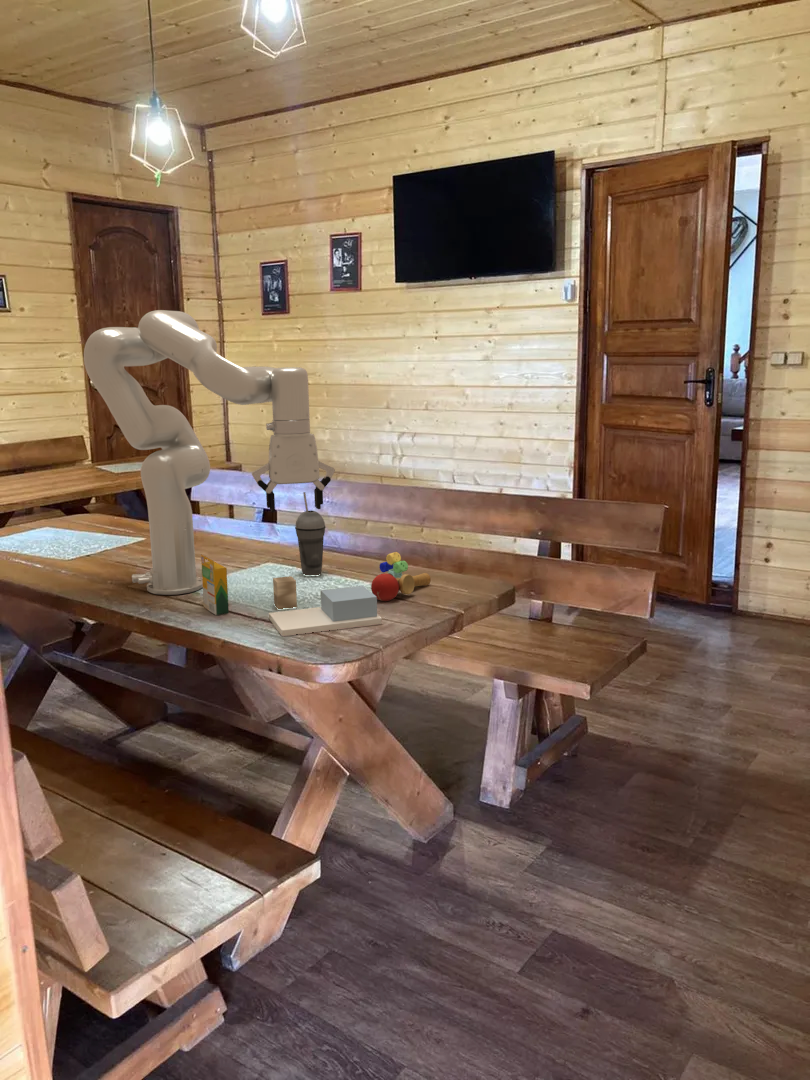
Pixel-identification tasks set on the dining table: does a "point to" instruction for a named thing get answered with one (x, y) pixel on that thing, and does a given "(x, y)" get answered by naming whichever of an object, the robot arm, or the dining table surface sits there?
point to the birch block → (285, 592)
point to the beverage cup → (310, 540)
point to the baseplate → (314, 621)
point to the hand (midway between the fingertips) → (295, 509)
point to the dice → (397, 567)
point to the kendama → (396, 585)
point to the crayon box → (214, 586)
